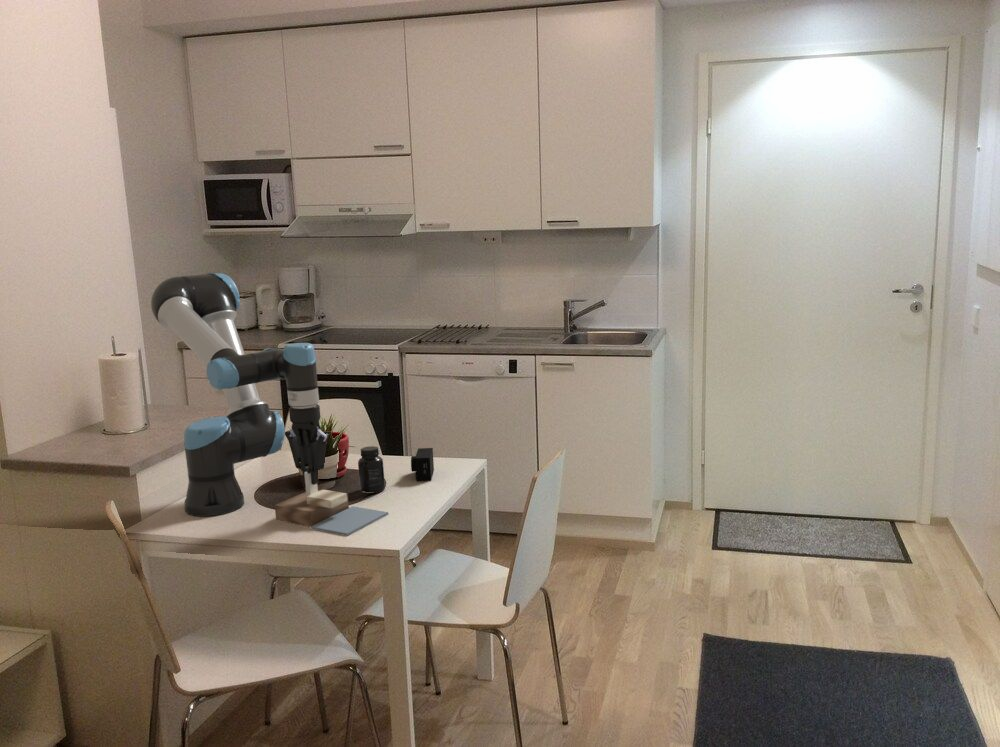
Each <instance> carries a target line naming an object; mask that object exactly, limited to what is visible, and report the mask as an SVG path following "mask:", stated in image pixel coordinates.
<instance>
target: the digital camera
mask: <svg viewBox="0 0 1000 747" xmlns="http://www.w3.org/2000/svg"><path fill="white" fill-rule="evenodd" d="M434 462H435V461H434V448H433V447H422V448H421V447H420V448H418V449H417V451H416V454H415V455H411V457H410V467H411V468H410V470H411V472H412V473H413V472H415V481H416V482H431V481H432V480H433V479H432V478H433V475H434V472H435V467H434V466H435V464H434Z"/></svg>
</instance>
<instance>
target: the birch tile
mask: <svg viewBox="0 0 1000 747" xmlns="http://www.w3.org/2000/svg"><path fill="white" fill-rule="evenodd" d="M319 490H320V491H318V492H316V493H313V494H311V495H309V496H307V504H310V505H316V506H321V507H327V508H333V507H336V506H338V505H340V504H342V503H344V502H346V501H347V495H348V493H346V492H340V491H336V490H335V491H334V490H329V489H319Z"/></svg>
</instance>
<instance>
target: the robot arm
mask: <svg viewBox="0 0 1000 747" xmlns="http://www.w3.org/2000/svg"><path fill="white" fill-rule="evenodd" d="M240 305H241V301H240V292H239V289H238V286H237V285H236V283H235V282H234V279H232V277H230V276H229V275H227V274H225V273H220V272H219V273H215V272H214V273H213V272H208V273H202V274H194V275H193V274H192V275H182V276H171V277H169V278H166V279H165V280H163V281H162V282H160V283H159V284H158V285H157V286H156V288H155V289H154V291H153V293H152V296H151V300H150V306H151V313H152V315H153V316H154V318H155V319H156V320H157V322H158V324H159V323H160V325H161V326H162V327H163V328H166V329H167V330H171V331H172V332H173V333H174V334H175V335H176V336H177V337H178V338H179V339H180V340H181V341H182V342H183V343H184V344H185V345H186V346H187V348H188V349H190V350H191V352H193V354H195V356H196V357H197V358H199V359H200V361H201V362H202V363H203V364H205V366H206V370H205V372H206V377H207V380H208V382H209V384H210V386H211V388H212V387H213V389H215V390H222V392H223V394H224V398H225V400H226V403H227V406H228V409H229V410H228V412H227V414H226V416H222V415H219V416H217V415H216V416H212V417H206V418H203V419H202V418H201V419H199V420H197V421H194V422H191V423H190V424H189V425H188V426H187V427H186V428H185V429H184V432H183V438H184V439H183V447H184V451H185V459H186V470H187V475H188V476H187V477H188V478H187V479H188V484H187V485H188V486H187V488H186V489H187V490H186V496H185V499H184V502H183V504H184V512H185V513H186V514H188V515H190V516H195V517H211V516H219V515H223V514H227V513H230V512H233V511H236V510H238V509H240V508H241V507H244V505H245V498H244V496H245V495H244V493H243V491H242V488H241V487H240V485H239V482H238V480H237V478H236V474H235V464H239V463H242V462H246V461H251V460H254V459H258V458H261V457H262V458H264V457H265V458H266V457H267V456H269V455H273V454H275V453H277V452H279V451H280V450H281V449H282V447H283V444H284V440H285V437H286V439H287V441H288V445H289V448H290V452H291V455H292V459H293V463H294V466H295V468H296V469H300V470H301V472H302V479H303V483H304V484H305V492H306V496H309V495H311V494H313V493H316V492H318V490H319V489H318V487H319V486H318V484H319V479H318V470H320V469H323V468H324V463H325V453H326V444H327V440H328V438H329V434H328V433H326V434H325V433H324V432H325V431H322V427H321V425H320V419H321V418H322V416H321V408H320V407H321V406H320V405H319V403H320V394H319V386H318V375H317V374H318V373H317V357H316V354H315V347H314V345H313V344H312V343H309V342H294V343H288V344H286V345H284V347H283V349H282V348H278V347H271V348H269V347H268V348H265V349H262V350H261V351H258V352H252V353H251V352H250V353H246V354H245V350H244V347H243V344H242V342H241V339H240V335H239V333H238V330H237V327H236V325H235V324H236V323H235V319H236V317H237V316H238V314H237V311H238V309H239V308H240ZM273 380H285V381H286V382H285V384H286V391H287V392H286V393H287V400H288V401H287V402H288V406H290V407H289V408H288V412H289V413H288V414H289V421H290V423H292V424H291V428H290V429H289V430H287V431H285V424H284V419H283V418H282V416H281V414H279V412H278V411H276V410H271V409H270V407H269V403H267V402H266V401H264V400H261V397H260V395H259V392H258V389H257V387H256V386H257V385H256V384H258V383H263V382H269V381H273Z"/></svg>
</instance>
